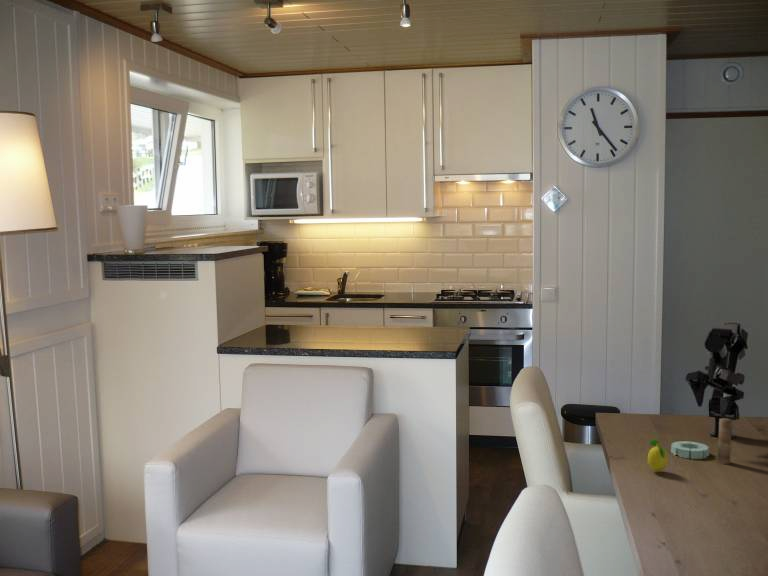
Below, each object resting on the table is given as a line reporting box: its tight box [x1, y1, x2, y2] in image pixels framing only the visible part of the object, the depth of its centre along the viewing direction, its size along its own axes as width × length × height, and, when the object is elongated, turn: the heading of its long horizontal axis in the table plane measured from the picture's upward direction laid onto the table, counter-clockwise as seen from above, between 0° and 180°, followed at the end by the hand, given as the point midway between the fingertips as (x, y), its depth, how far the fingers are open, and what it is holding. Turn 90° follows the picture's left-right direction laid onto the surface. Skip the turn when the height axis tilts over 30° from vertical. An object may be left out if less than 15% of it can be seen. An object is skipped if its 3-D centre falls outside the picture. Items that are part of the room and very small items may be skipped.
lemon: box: [647, 438, 669, 473], centre depth 237 cm, size 7×6×10 cm
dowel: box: [717, 418, 732, 465], centre depth 246 cm, size 3×3×13 cm
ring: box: [670, 440, 710, 460], centre depth 255 cm, size 10×10×2 cm
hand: (711, 411), depth 258 cm, fingers open, 9 cm apart
